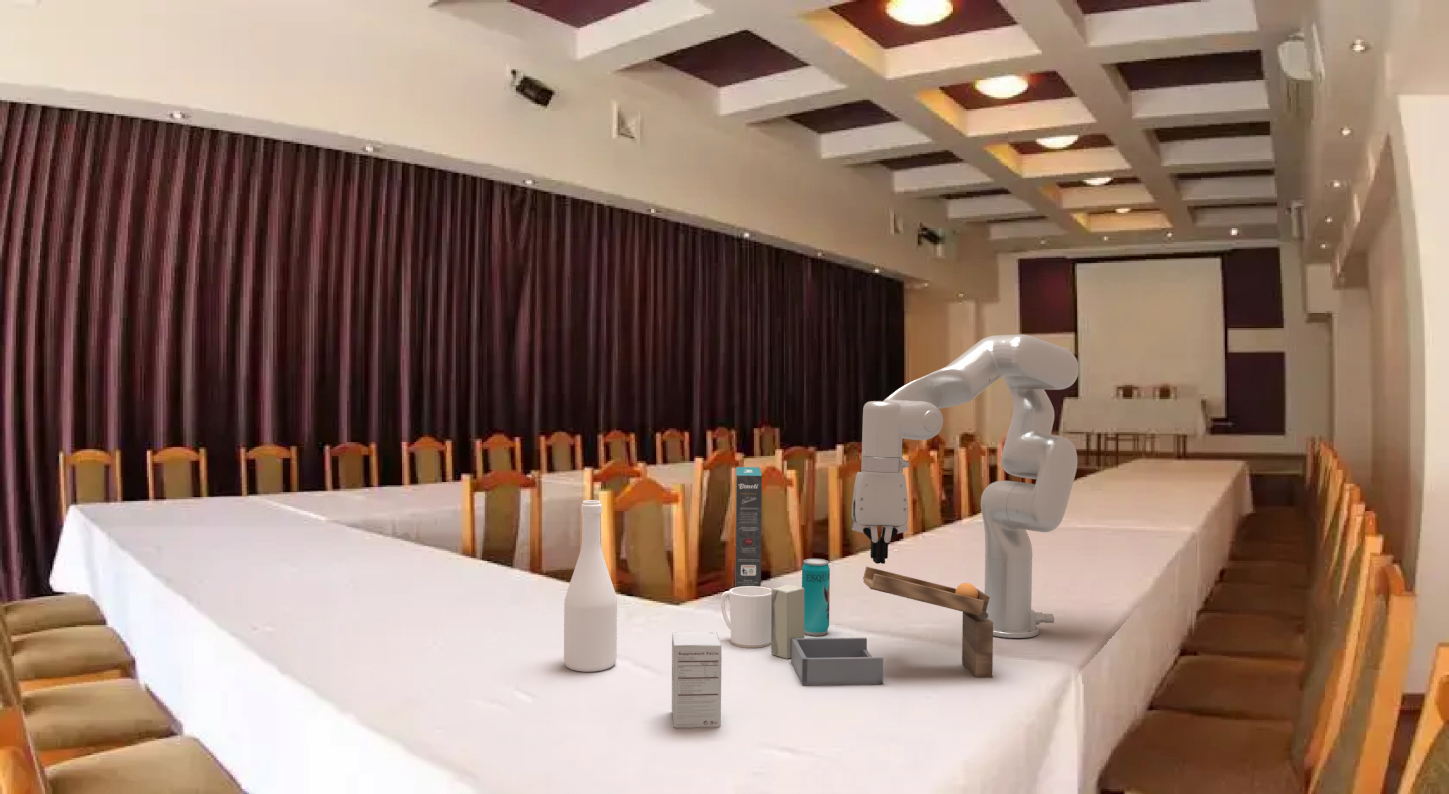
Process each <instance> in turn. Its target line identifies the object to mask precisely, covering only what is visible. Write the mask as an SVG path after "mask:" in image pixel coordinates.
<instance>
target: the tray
mask: <svg viewBox="0 0 1449 794" xmlns="http://www.w3.org/2000/svg"><path fill="white" fill-rule="evenodd" d="M867 646H868V639H867V637H813V638H812V637H804V638H792V641H791V659H790V662H791V665H792V667H793V669H794V671H795V673H796V676H797V678H798V679H799V682H800V684H801V685H802V686H843V685H844V686H847V685H848V686H850V685H852V686H853V685H856V686H857V685H860V686H861V685H884V683H883V682H884V657H882V656H872V654H871V653H870V652H869V650H868V647H867Z"/></svg>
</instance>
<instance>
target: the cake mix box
mask: <svg viewBox="0 0 1449 794" xmlns="http://www.w3.org/2000/svg"><path fill="white" fill-rule="evenodd" d="M735 478H736V482H735V564H734V566H735V567H734V568H735V569H734V570H735V571H734V572H735V573H734V576H735V579H734V580H735V583H734V586H735V587H734V588H736V587H743V586H758V587H762V513H763V512H762V507H763V506H762V505H763V503H762V502H763V500H762V499H763V487H762V486H763V485H762V484H763V475H762V471H761V468H760V467H759V466H758V467H757V466H756V467H755V466H750V467H749V466H736V477H735Z"/></svg>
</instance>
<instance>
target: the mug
mask: <svg viewBox="0 0 1449 794" xmlns="http://www.w3.org/2000/svg"><path fill="white" fill-rule="evenodd" d="M771 589H772V588H769V587H764V586H761V587H758V586H743V587H736V588H735V587H732V588H730V589H729V590H727V591H724V592H723V593H722V594H721V596H720V598H719V601H720V609H721V613H722V616H723V620H724V622H725V624H726V627H727V628H728V629H729V631H730V642H731V644H732V645H734V646H736V647H740V648H743V649H759V648H760V649H761V648H765V647H768V646H771V605H772V604H771ZM726 597H729V616H730V617H729V618H728V614H727V610H726V603H725V601H726V600H725V599H726ZM729 619H730V620H729Z"/></svg>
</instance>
